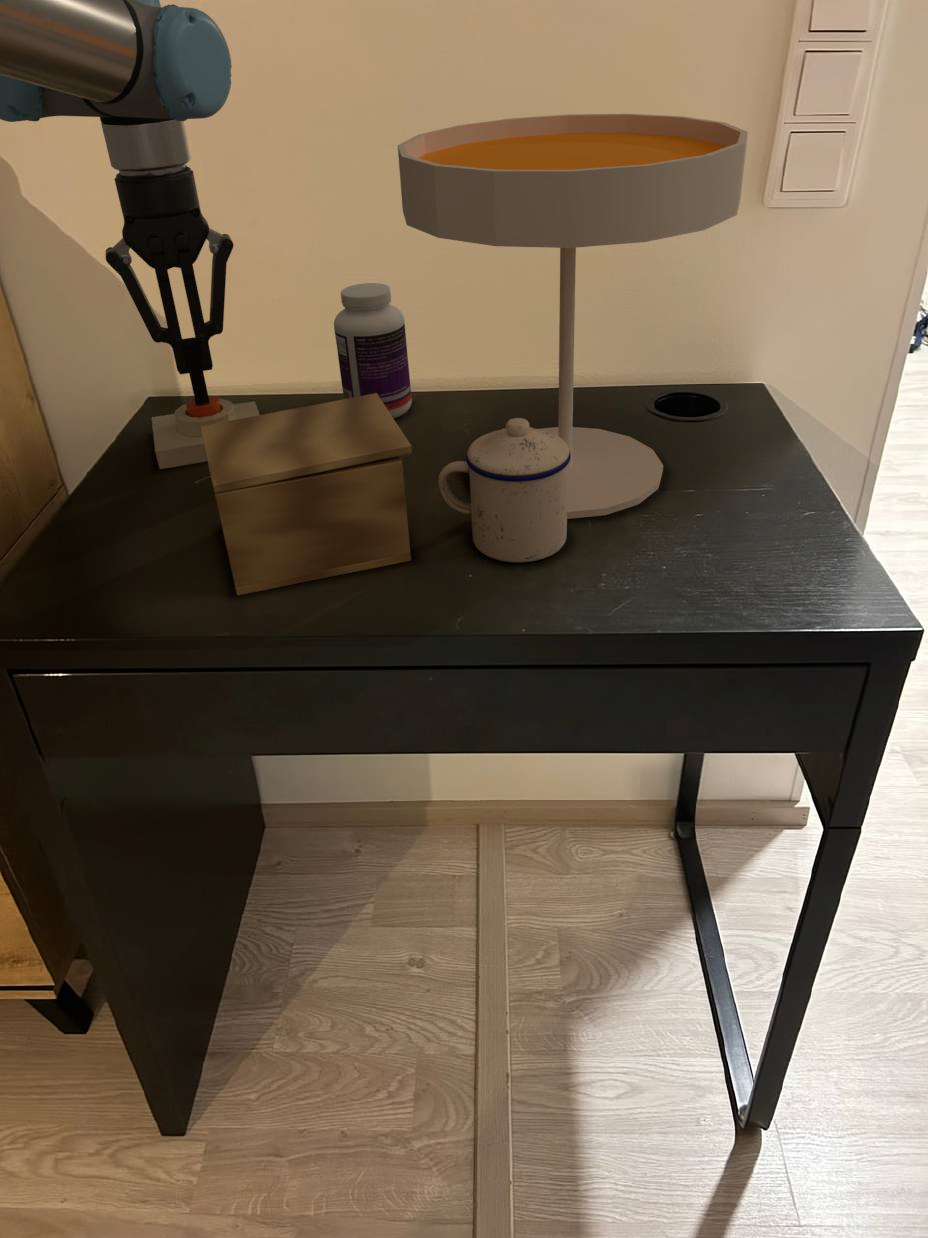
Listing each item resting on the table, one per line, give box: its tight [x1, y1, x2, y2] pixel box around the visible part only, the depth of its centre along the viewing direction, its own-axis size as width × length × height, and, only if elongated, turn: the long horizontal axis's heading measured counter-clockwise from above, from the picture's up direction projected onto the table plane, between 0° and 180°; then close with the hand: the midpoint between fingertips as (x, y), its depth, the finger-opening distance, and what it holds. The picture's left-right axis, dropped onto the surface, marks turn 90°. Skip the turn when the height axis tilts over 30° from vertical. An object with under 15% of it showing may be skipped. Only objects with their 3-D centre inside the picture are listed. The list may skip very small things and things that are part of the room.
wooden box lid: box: [200, 393, 413, 494], centre depth 83 cm, size 16×13×1 cm
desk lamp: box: [397, 113, 749, 520], centre depth 90 cm, size 30×30×31 cm
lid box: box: [213, 456, 412, 596], centre depth 86 cm, size 16×13×10 cm
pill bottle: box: [333, 282, 413, 420], centre depth 110 cm, size 8×8×14 cm
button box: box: [151, 398, 261, 470], centre depth 108 cm, size 12×10×4 cm
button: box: [185, 394, 221, 417], centre depth 107 cm, size 4×4×2 cm
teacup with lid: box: [437, 417, 571, 563], centre depth 85 cm, size 12×9×12 cm
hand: (201, 399), depth 106 cm, fingers closed
